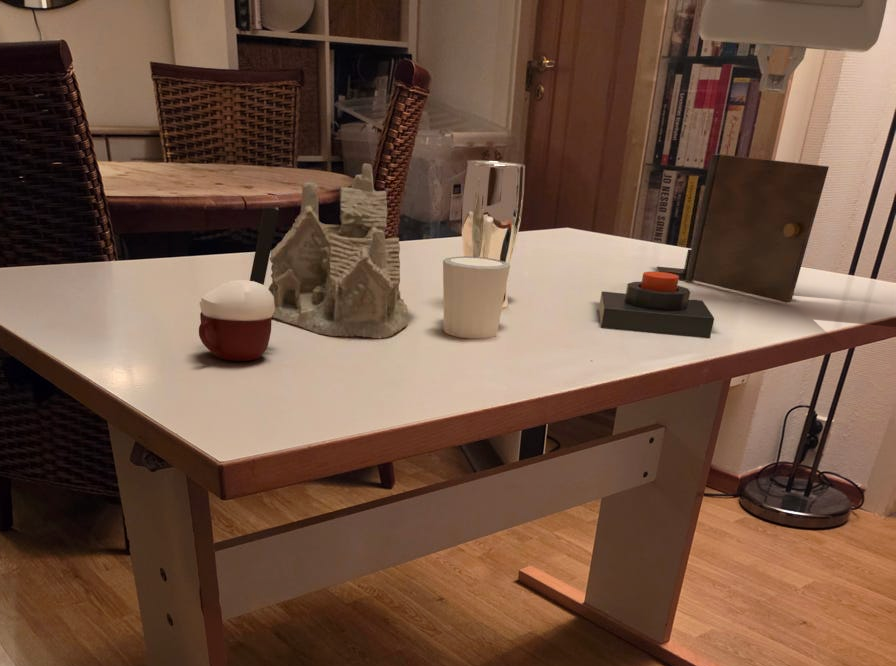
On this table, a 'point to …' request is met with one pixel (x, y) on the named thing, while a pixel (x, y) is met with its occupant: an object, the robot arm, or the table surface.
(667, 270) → the gray angle bracket
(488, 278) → the white cup
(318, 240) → the ceramic cottage
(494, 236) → the beer glass
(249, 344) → the cocoa
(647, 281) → the button
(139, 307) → the table surface
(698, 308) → the buzzer
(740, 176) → the door
